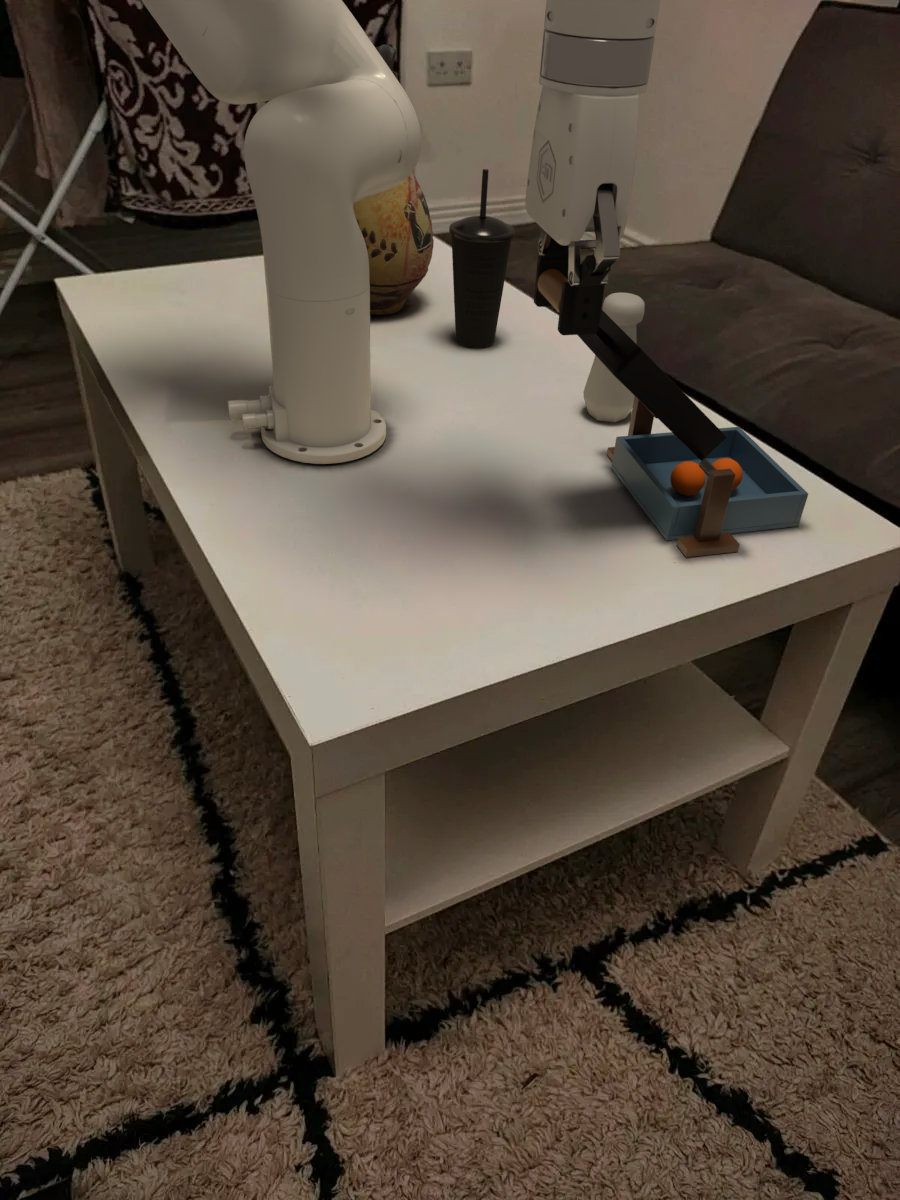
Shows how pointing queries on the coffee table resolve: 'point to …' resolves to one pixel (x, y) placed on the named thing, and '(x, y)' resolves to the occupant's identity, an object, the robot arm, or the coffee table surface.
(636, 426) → the stand
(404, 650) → the coffee table surface
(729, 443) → the tray
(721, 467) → the ball
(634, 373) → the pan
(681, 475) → the ball
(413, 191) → the ceramic jug
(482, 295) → the drinking cup
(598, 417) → the salt shaker
